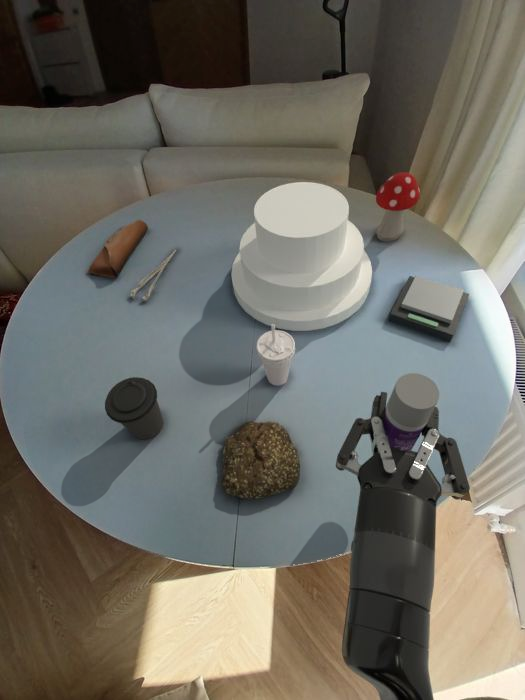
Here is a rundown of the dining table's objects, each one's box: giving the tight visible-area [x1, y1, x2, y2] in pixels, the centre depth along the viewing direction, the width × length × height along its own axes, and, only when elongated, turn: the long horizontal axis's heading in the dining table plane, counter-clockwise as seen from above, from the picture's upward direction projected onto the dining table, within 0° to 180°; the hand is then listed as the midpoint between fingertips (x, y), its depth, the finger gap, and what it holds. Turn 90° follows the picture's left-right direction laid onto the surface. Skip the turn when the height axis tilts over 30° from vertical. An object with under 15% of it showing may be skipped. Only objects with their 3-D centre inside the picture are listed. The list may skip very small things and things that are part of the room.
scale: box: [388, 275, 470, 343], centre depth 78 cm, size 12×12×3 cm
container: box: [383, 372, 440, 451], centre depth 47 cm, size 5×5×15 cm
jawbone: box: [129, 249, 177, 302], centre depth 91 cm, size 18×5×2 cm, turn 160°
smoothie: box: [256, 324, 296, 387], centre depth 66 cm, size 6×6×14 cm
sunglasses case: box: [87, 219, 149, 279], centre depth 96 cm, size 18×7×7 cm, turn 167°
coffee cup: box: [104, 376, 164, 441], centre depth 64 cm, size 8×8×10 cm
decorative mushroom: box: [375, 171, 421, 242], centre depth 88 cm, size 10×9×15 cm
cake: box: [230, 181, 373, 332], centre depth 80 cm, size 30×30×18 cm
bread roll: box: [220, 420, 301, 500], centre depth 61 cm, size 13×12×5 cm
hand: (405, 400), depth 48 cm, fingers closed on container, 4 cm apart
